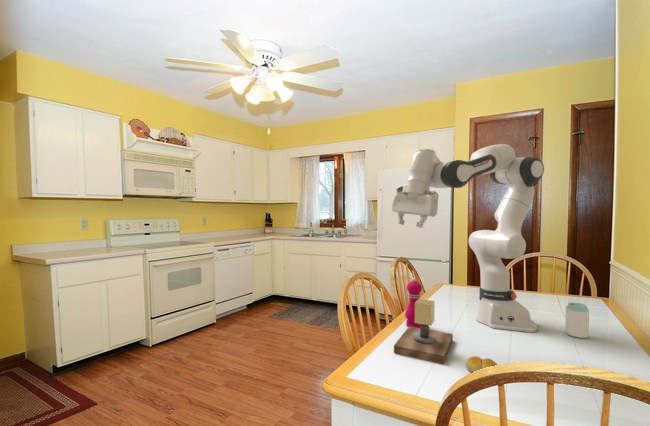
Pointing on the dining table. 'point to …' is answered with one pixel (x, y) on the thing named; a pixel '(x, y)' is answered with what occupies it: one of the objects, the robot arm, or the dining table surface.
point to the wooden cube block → (424, 312)
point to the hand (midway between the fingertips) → (409, 225)
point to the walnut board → (424, 344)
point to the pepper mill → (412, 302)
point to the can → (577, 320)
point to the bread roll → (478, 363)
